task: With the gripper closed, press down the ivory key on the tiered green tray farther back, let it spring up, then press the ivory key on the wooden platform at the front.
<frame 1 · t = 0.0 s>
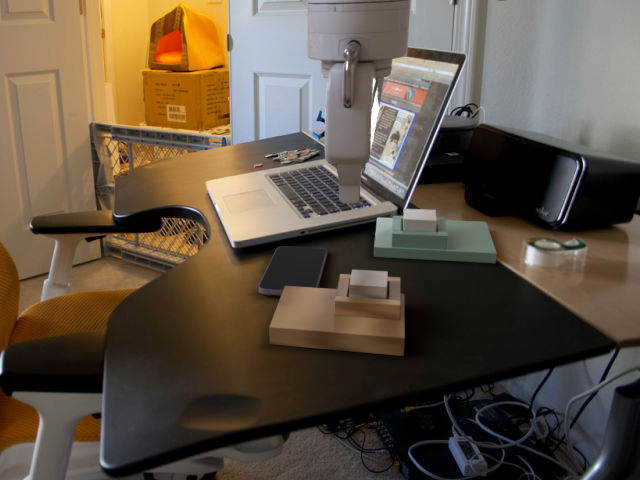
hand: (353, 185, 62), 18 cm above the table, tool pointing down, fingers open, 8 cm apart
tiered green tray: (431, 243, 92), on the table
wooden platform: (339, 326, 71), on the table
key back: (419, 221, 89), point 4 cm above the table, slide at 0.1 cm
key front: (368, 284, 71), point 4 cm above the table, slide at 0.1 cm
smartphone: (294, 275, 85), on the table
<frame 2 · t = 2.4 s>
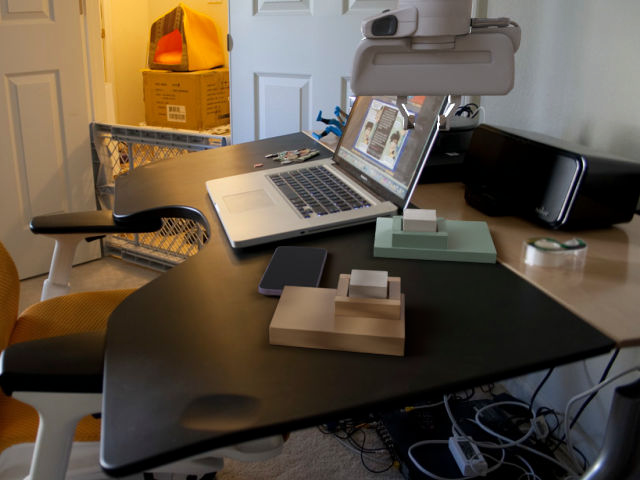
hand: (426, 129, 84), 17 cm above the table, tool pointing down, fingers open, 3 cm apart
nothing on the table moved.
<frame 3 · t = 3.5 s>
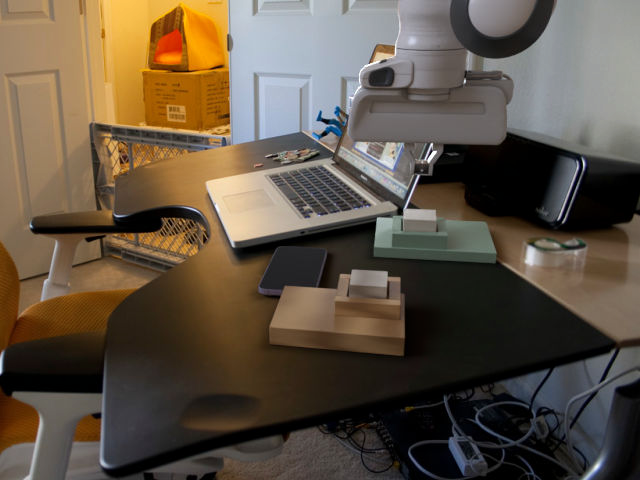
hand: (420, 174, 87), 11 cm above the table, tool pointing down, fingers closed
nothing on the table moved.
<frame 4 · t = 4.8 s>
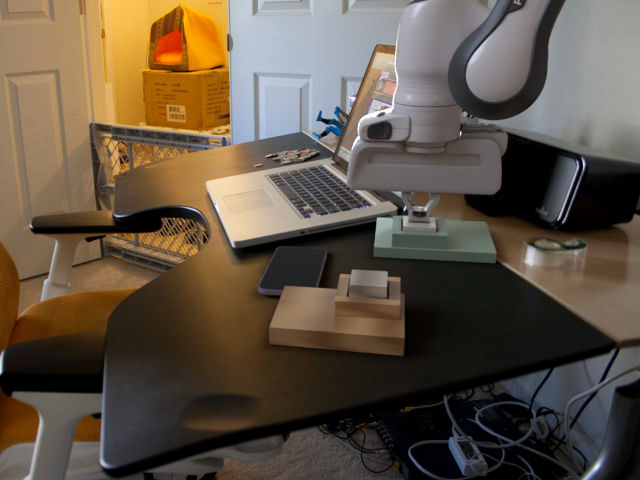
hand: (418, 220, 89), 4 cm above the table, tool pointing down, fingers closed, pressing on key back
key back: (419, 228, 90), point 3 cm above the table, slide at -1.0 cm, touching gripper
everything else where it was.
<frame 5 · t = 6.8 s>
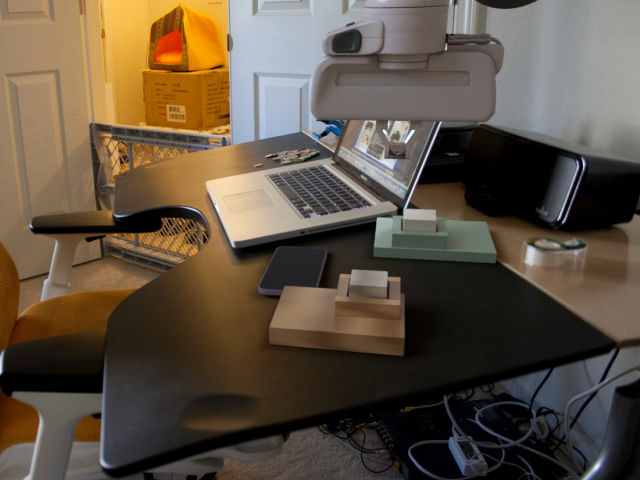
hand: (396, 158, 74), 16 cm above the table, tool pointing down, fingers closed
key back: (419, 221, 89), point 4 cm above the table, slide at 0.1 cm
everything else where it was.
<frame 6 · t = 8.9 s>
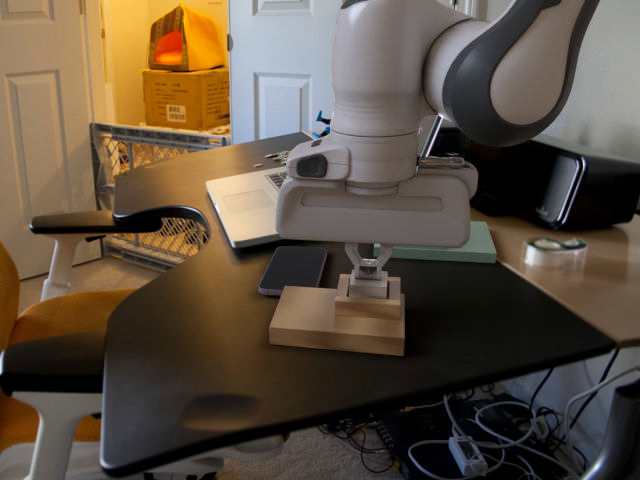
hand: (367, 277, 70), 5 cm above the table, tool pointing down, fingers closed, pressing on key front
key front: (368, 284, 71), point 4 cm above the table, slide at 0.1 cm, touching gripper
everything else where it was.
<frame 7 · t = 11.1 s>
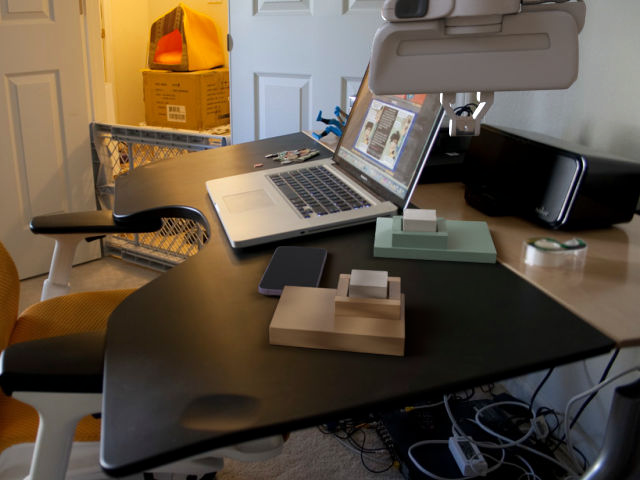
hand: (464, 134, 68), 20 cm above the table, tool pointing down, fingers closed
key front: (368, 284, 71), point 4 cm above the table, slide at 0.1 cm
everything else where it was.
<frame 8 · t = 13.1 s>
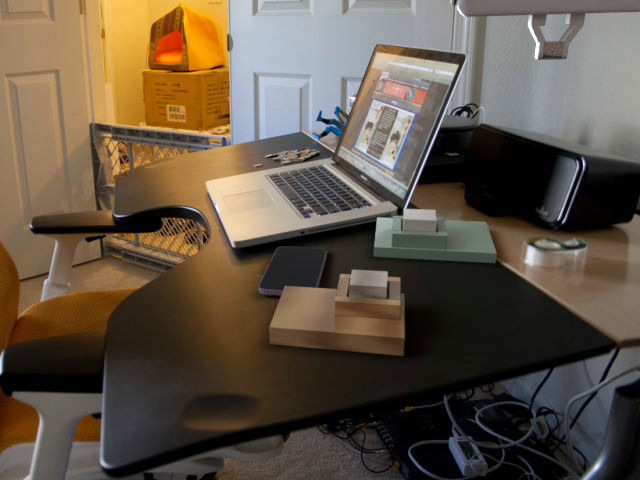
hand: (550, 59, 69), 27 cm above the table, tool pointing down, fingers closed
nothing on the table moved.
at the end: key back pushed in 1.2 cm at the most during the clip, back to where it started at the end; key front pushed in 1.0 cm at the most during the clip, back to where it started at the end; key front slide at 0.1 cm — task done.
